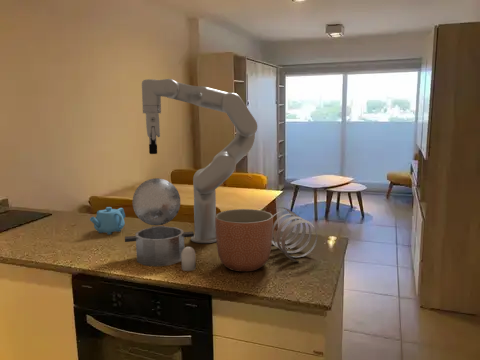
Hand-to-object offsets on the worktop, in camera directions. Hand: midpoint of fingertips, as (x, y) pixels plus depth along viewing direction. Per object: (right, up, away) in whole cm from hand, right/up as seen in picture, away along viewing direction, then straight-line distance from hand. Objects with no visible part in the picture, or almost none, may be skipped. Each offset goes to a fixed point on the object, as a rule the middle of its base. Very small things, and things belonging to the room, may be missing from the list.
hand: (153, 153), depth 180 cm
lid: (+3, -20, -7) cm, 21 cm away
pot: (+6, -41, -15) cm, 44 cm away
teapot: (-25, -36, +21) cm, 49 cm away
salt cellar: (+18, -43, -26) cm, 54 cm away
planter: (+38, -43, -24) cm, 62 cm away
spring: (+57, -40, -7) cm, 70 cm away
